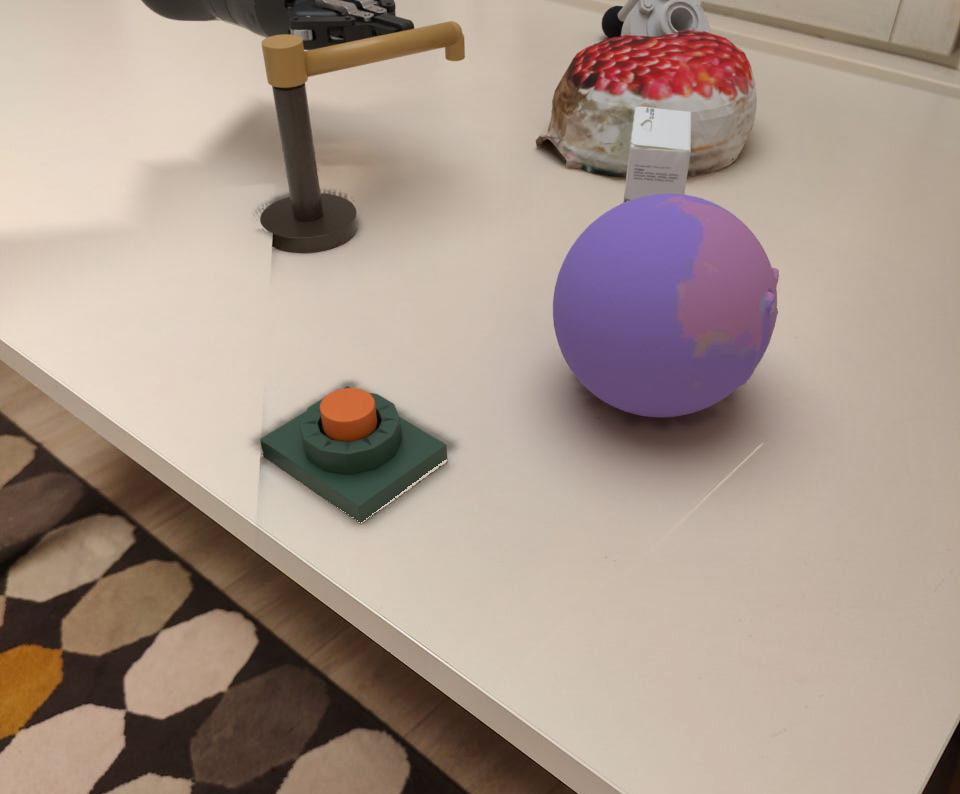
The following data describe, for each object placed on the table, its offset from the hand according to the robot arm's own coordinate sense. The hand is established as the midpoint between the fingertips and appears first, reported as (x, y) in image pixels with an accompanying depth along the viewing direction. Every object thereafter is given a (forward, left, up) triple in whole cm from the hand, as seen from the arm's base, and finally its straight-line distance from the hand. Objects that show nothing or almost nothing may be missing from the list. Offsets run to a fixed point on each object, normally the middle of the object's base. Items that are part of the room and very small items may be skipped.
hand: (409, 36), depth 85 cm
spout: (-4, -3, -2) cm, 5 cm away
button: (-8, -40, -12) cm, 42 cm away
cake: (+25, +10, -15) cm, 31 cm away
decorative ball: (+14, -36, -15) cm, 41 cm away
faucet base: (-11, -6, -15) cm, 19 cm away
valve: (+31, +32, -15) cm, 47 cm away
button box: (-8, -40, -15) cm, 43 cm away
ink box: (+19, -16, -15) cm, 29 cm away
